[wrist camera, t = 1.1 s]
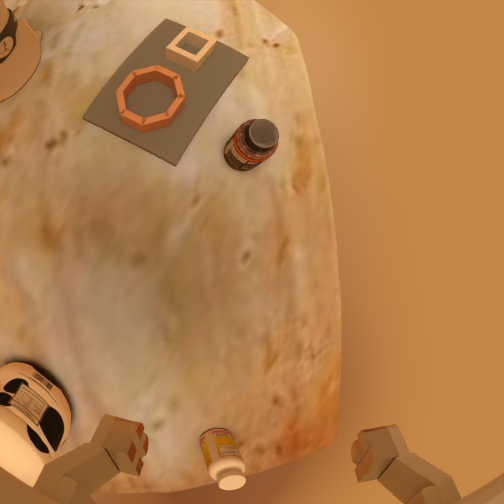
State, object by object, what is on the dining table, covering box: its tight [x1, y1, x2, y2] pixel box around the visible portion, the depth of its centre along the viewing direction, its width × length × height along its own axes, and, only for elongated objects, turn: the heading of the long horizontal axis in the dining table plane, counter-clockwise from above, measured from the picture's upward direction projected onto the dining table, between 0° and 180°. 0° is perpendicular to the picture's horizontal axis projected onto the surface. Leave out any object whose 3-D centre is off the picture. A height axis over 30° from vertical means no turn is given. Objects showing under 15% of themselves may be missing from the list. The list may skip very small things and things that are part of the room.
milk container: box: [0, 362, 71, 486], centre depth 27 cm, size 17×17×18 cm
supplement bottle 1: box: [200, 429, 246, 490], centre depth 40 cm, size 7×7×13 cm
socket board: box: [82, 19, 249, 166], centre depth 36 cm, size 24×18×4 cm
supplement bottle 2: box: [224, 119, 279, 171], centre depth 38 cm, size 6×6×11 cm
